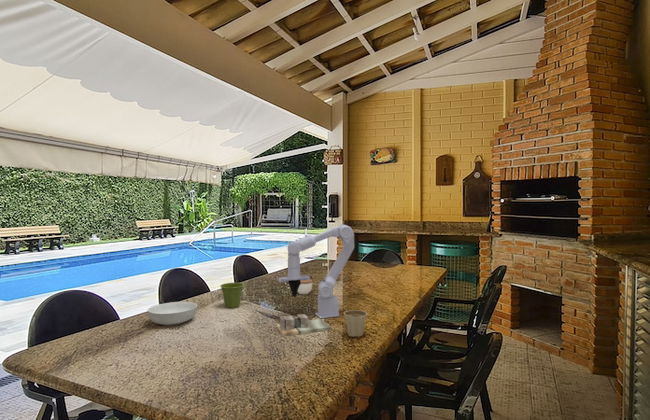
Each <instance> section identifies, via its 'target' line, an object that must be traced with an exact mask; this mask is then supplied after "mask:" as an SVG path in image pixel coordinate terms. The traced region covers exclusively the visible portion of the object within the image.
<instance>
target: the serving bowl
mask: <svg viewBox="0 0 650 420" xmlns="http://www.w3.org/2000/svg"><path fill="white" fill-rule="evenodd" d="M197 311H198V304H197V303H196V302H190V301H171V302H166V303H165V302H163V303H159V304H156V305H153V306H150V307H149V308H148V309H147V315H148V319H150V320H151V321H152V322H153V323H156V324H158V325H164V326H175V325H179V324H182V323H185V322H186V321H189V320H190V319H191V320H192V318H193V317H194V316H195V315H196V313H197Z"/></svg>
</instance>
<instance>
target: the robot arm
mask: <svg viewBox="0 0 650 420" xmlns="http://www.w3.org/2000/svg"><path fill="white" fill-rule="evenodd" d="M332 237H335V238H340V240H341V242H342V245H343V246H342V248H341V250H340V252H339V253H338V255H337V257H336V258H335V261H334V263H332V265H331V268H329V271H328V272H327V274H326V275H325V277H324V278H323V279H322V280H321V281H319V283H318V285H317V288H318V292H319V293H318V295H317V312H314V314H315V315H316V316H317V317H318V318H319V319H328V318H333V317H340V313H339V311H340V309H339V306H340V305H339V299H338V296H336V295H333V292H334V288H335V285H336V282H337V279H338V277H339V276H340V274H341V272H342V271H343V270H344V269H343V268H344V267H345V265H346V263H347V262H348V260H349V258H350V256H351V255H352V253H353V251H354V249H355V233H354V230H353V229H352V227H351V226H349V225H347V224H339V225H337V226H334V227H331V228H329V229H326V230H324V231H322V232H320V233H318V234H316V235H311V234H305V235H304V236H303V237H301V238H299V239H297V238H296V239H295V241H290V243H288V245H287V251H288V253H287V276H283V277H278V283H287V284H288V286H289V288H290V291H291V297H293V298H296V297H297V295H298V292H297V291H298V288H299V286H300V284H301V282H300V281H301V280H309V279H310V275H301V257H300V252H303V251H306V250H309V249H311V248H312V247H315V245H316V243H318V242H321V241H323V240H325V239H328V238H332Z"/></svg>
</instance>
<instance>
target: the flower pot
mask: <svg viewBox="0 0 650 420" xmlns="http://www.w3.org/2000/svg"><path fill="white" fill-rule="evenodd" d="M343 315H344V318H345V322H346V331H347V335H348V337H353V338H354V337H362V336H363V335H364V331H365V322H366V319H367V316H368V312H366V311H364V310H358V309H350V310H345V311H344V312H343Z"/></svg>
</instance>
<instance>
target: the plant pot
mask: <svg viewBox="0 0 650 420" xmlns="http://www.w3.org/2000/svg"><path fill="white" fill-rule="evenodd" d="M244 285H245V284H244V283H241V282H227V283H222V284H221V285H219V287H220V288H221V292H222V296H223V303H224V307H225V309H236V308H237V309H238V307H240V305H241V299H242V291H243V286H244Z"/></svg>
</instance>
